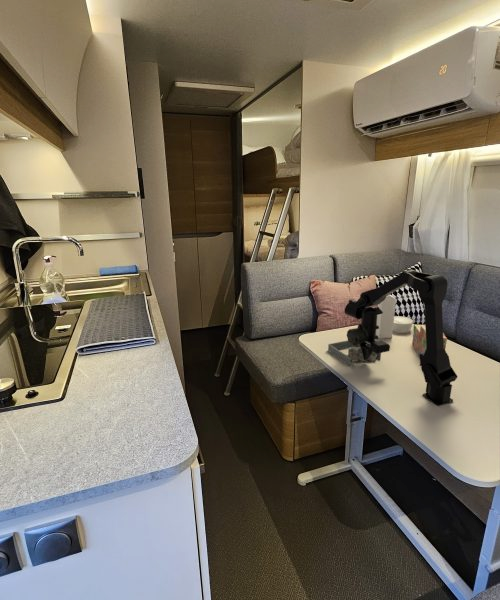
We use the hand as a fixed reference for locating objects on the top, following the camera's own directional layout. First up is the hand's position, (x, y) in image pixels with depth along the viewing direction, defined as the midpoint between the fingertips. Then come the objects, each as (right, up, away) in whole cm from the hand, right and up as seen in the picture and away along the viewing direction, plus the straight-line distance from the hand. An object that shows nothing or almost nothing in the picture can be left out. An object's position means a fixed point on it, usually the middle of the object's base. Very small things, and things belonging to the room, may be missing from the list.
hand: (365, 359), depth 136 cm
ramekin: (+27, +9, +33) cm, 44 cm away
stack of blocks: (+27, +1, +6) cm, 28 cm away
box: (-2, +1, +8) cm, 8 cm away
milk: (+17, +7, +26) cm, 32 cm away
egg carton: (0, 0, +5) cm, 5 cm away
